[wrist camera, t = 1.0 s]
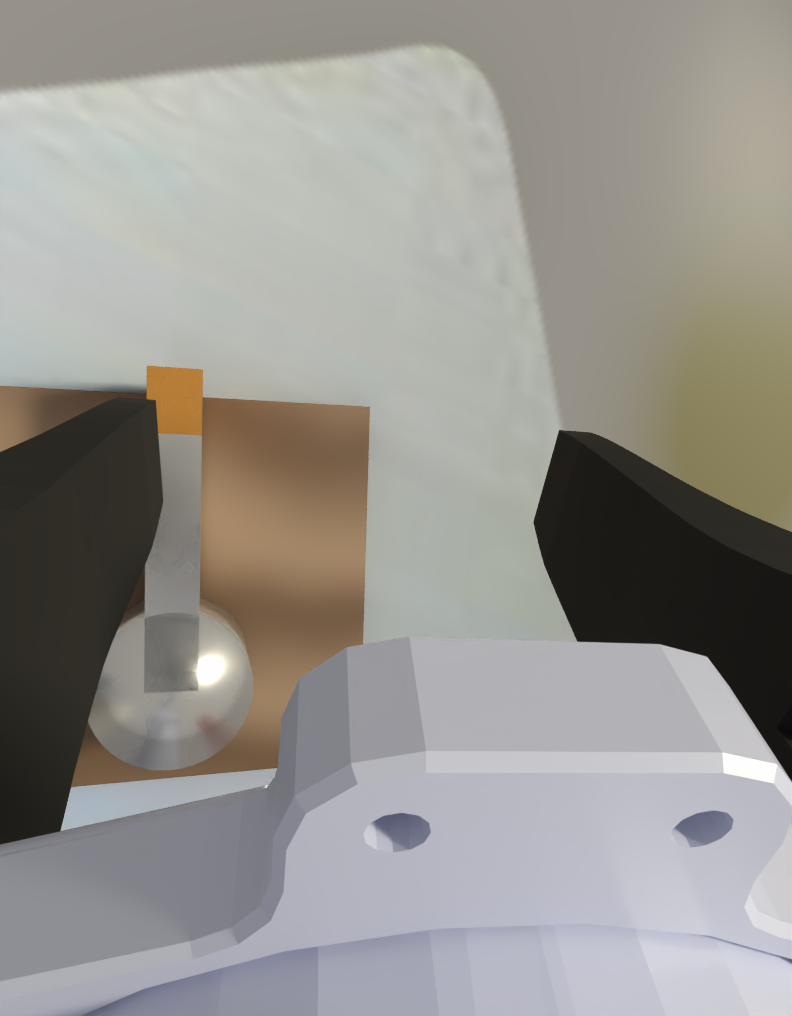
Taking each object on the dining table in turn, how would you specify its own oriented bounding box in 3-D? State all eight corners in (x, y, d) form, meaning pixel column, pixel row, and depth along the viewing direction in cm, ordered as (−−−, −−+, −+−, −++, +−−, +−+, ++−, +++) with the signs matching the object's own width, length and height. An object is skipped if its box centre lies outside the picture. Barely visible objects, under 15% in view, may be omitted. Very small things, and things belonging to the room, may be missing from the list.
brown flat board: (355, 751, 27) (360, 762, 27) (-169, 798, 22) (-186, 813, 22) (365, 408, 27) (370, 406, 26) (-177, 378, 22) (-195, 374, 21)
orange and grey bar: (245, 723, 25) (251, 762, 22) (100, 734, 24) (83, 777, 20) (251, 385, 24) (259, 373, 21) (101, 375, 23) (85, 361, 20)
